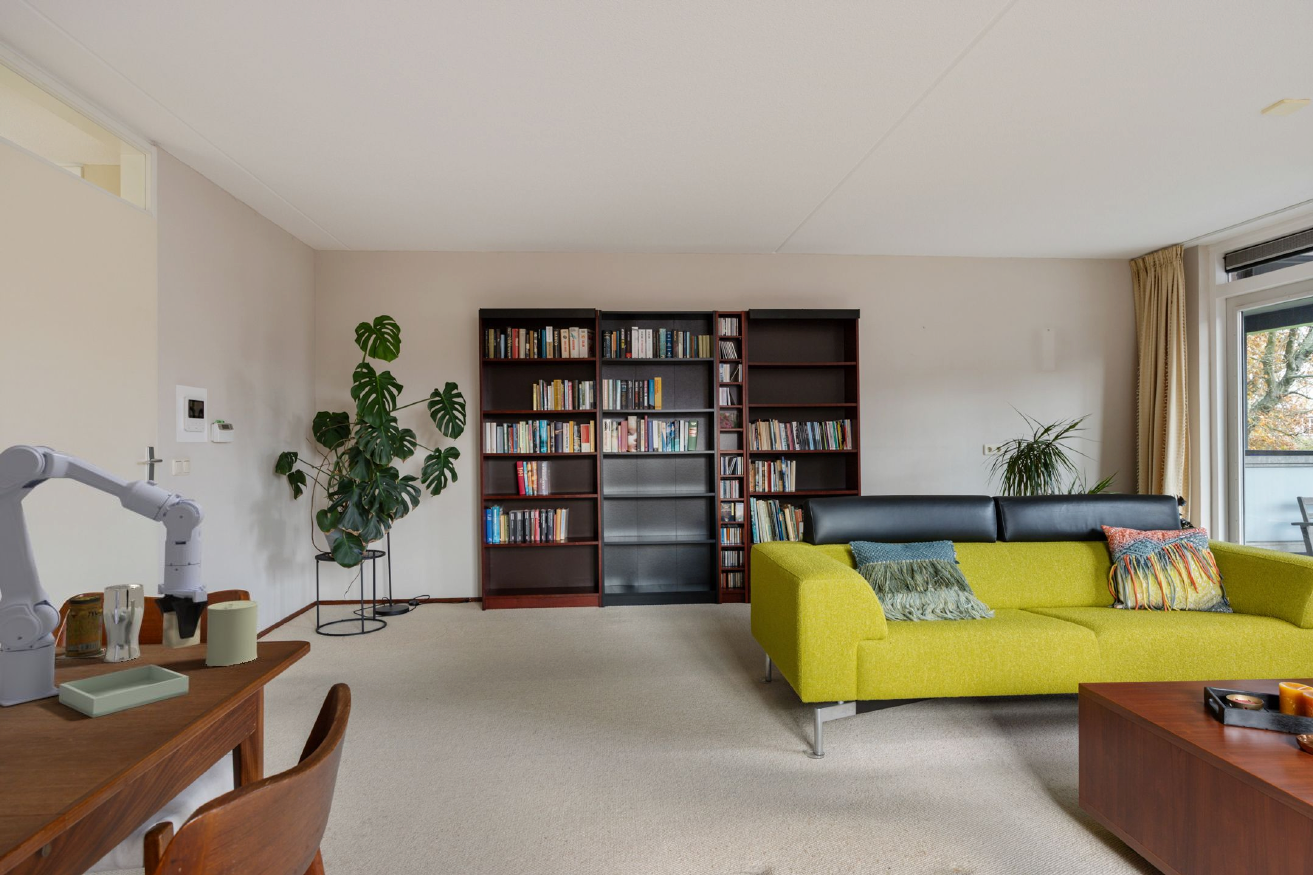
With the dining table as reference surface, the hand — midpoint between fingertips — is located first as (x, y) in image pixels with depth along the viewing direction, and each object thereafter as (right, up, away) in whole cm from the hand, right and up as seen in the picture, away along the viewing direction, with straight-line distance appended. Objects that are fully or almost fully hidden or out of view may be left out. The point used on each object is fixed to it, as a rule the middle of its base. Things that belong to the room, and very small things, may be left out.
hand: (180, 635), depth 132 cm
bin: (-3, -8, -10) cm, 13 cm away
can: (+2, -9, +13) cm, 16 cm away
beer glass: (-22, -9, +14) cm, 28 cm away
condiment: (-32, -9, +17) cm, 38 cm away
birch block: (0, -2, 0) cm, 2 cm away
